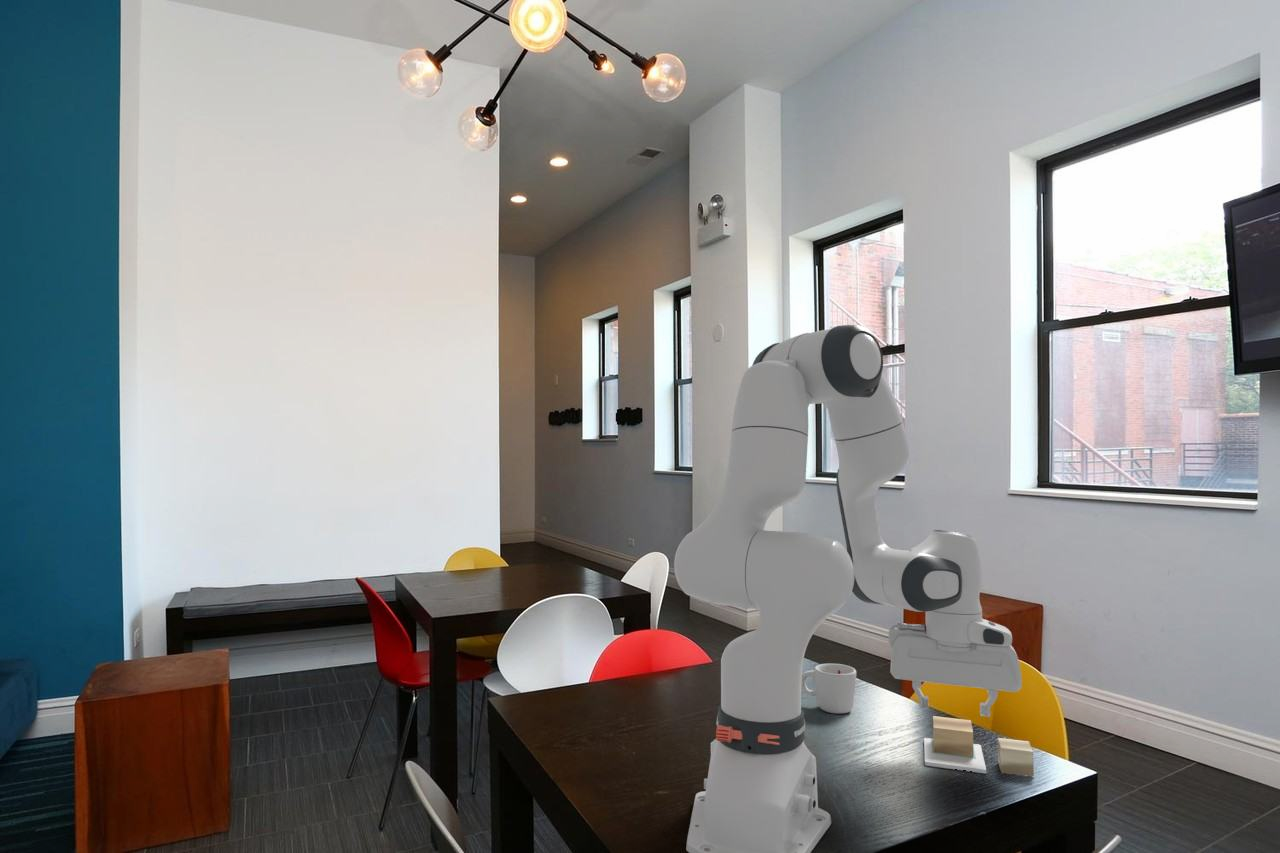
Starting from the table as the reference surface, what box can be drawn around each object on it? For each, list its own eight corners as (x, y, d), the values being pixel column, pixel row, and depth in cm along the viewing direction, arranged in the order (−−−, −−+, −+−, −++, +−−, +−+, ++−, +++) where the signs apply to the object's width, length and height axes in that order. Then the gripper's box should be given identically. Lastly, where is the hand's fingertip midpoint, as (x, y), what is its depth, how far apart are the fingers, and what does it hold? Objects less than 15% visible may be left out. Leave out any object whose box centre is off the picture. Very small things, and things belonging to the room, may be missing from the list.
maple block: (1033, 777, 116) (1033, 751, 116) (1001, 773, 117) (1001, 747, 117) (1029, 766, 120) (1028, 741, 120) (998, 762, 121) (997, 737, 122)
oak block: (973, 757, 122) (973, 732, 122) (934, 752, 124) (933, 727, 124) (971, 744, 127) (970, 720, 127) (933, 739, 129) (933, 716, 129)
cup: (795, 710, 146) (795, 669, 146) (806, 699, 153) (806, 659, 153) (851, 719, 141) (851, 676, 141) (860, 707, 148) (860, 666, 148)
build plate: (986, 773, 117) (986, 769, 117) (924, 765, 120) (924, 761, 120) (980, 748, 127) (980, 744, 127) (924, 741, 130) (924, 737, 130)
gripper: (887, 625, 126) (887, 708, 125) (1022, 636, 119) (1023, 725, 118) (889, 618, 132) (889, 698, 131) (1018, 629, 125) (1019, 714, 124)
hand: (954, 711), depth 125 cm, fingers open, 8 cm apart
